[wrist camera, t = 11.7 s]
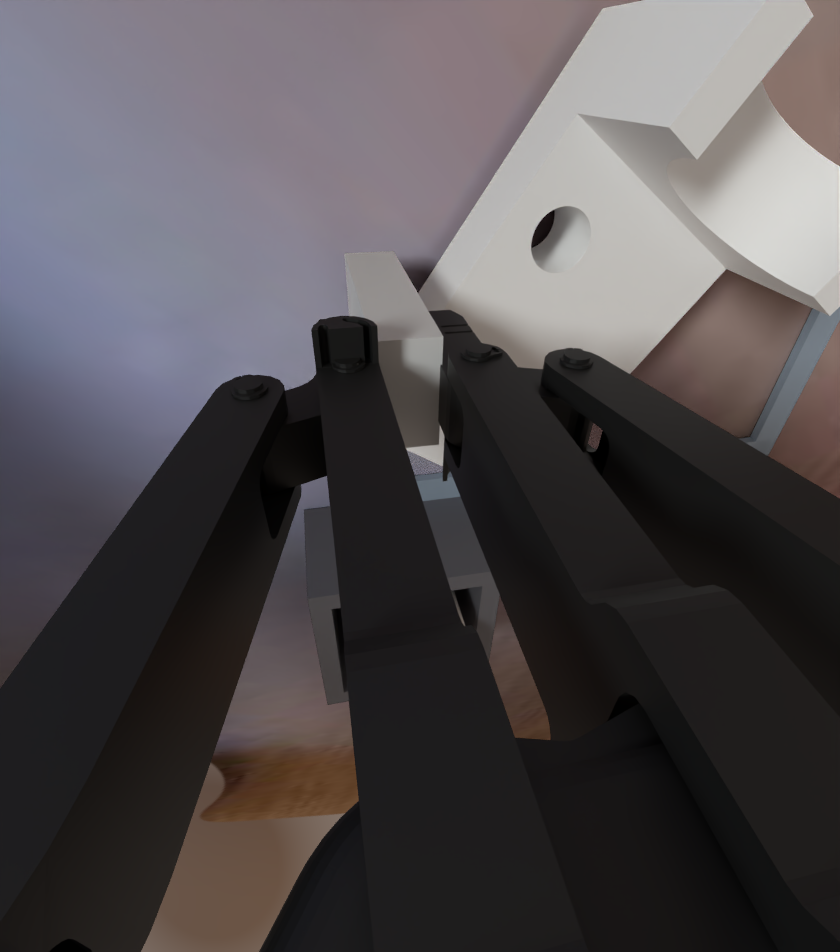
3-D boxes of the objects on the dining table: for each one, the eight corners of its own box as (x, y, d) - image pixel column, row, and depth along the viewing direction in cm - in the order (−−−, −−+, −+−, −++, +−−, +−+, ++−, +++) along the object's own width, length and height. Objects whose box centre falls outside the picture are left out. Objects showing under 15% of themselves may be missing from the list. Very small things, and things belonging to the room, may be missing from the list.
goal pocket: (410, 496, 24) (412, 502, 23) (410, -155, 12) (414, -162, 11) (760, 454, 27) (766, 458, 26) (1045, -101, 15) (1062, -104, 14)
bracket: (586, 11, 14) (788, -29, 9) (720, 172, 18) (929, 221, 12) (351, 379, 20) (377, 508, 14) (488, 449, 23) (554, 575, 17)
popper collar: (322, 616, 28) (327, 704, 24) (304, 509, 23) (307, 599, 19) (459, 594, 29) (486, 675, 25) (469, 489, 24) (504, 569, 20)
